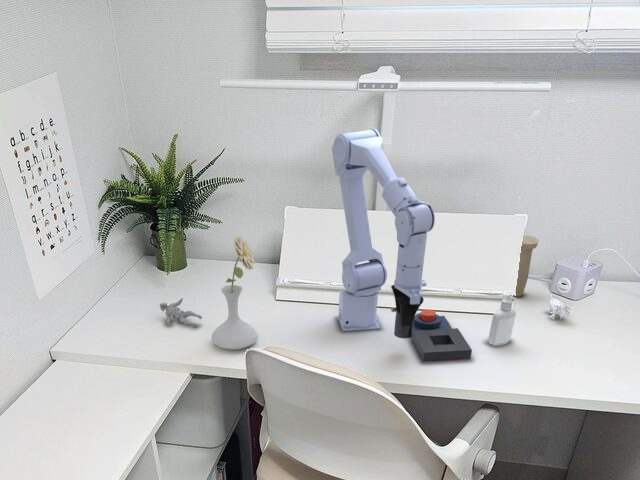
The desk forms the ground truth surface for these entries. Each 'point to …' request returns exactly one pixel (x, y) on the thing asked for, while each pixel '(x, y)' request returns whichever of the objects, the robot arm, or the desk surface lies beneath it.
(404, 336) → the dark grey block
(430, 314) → the stop button
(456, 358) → the square hole block
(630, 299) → the desk surface
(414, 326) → the switch box
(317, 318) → the desk surface
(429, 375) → the desk surface
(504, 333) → the eye dropper bottle
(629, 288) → the desk surface
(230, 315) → the flower in vase
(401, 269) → the robot arm
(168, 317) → the soldier figure
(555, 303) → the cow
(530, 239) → the handle
